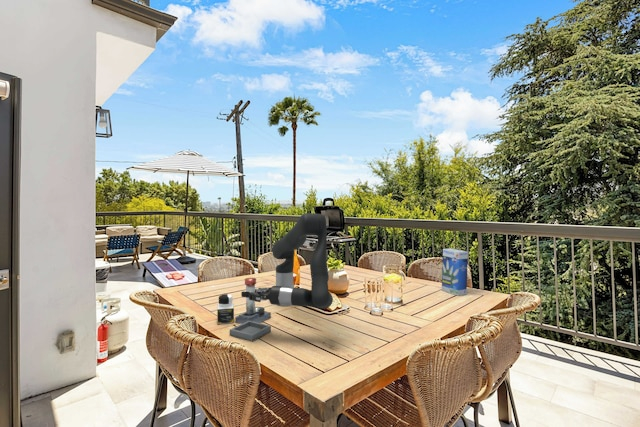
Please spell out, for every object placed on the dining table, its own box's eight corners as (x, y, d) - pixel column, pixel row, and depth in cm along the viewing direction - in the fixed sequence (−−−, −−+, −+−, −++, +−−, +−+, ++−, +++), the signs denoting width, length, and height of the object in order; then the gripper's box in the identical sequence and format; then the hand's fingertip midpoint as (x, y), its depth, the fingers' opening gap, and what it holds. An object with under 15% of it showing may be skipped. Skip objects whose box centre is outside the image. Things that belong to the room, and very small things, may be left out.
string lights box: (441, 290, 214) (442, 248, 213) (450, 289, 217) (451, 248, 216) (457, 296, 202) (459, 252, 201) (467, 294, 205) (468, 251, 204)
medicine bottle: (217, 324, 155) (217, 297, 154) (217, 319, 162) (217, 293, 161) (233, 323, 157) (233, 296, 156) (233, 317, 164) (233, 292, 163)
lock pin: (250, 310, 148) (249, 277, 147) (258, 311, 145) (258, 278, 145) (242, 313, 144) (242, 279, 143) (251, 314, 141) (251, 280, 141)
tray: (249, 326, 153) (249, 320, 153) (270, 331, 147) (270, 325, 147) (229, 335, 143) (229, 329, 143) (252, 341, 137) (252, 335, 137)
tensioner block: (254, 313, 169) (254, 304, 169) (270, 317, 164) (270, 307, 164) (235, 322, 158) (235, 311, 158) (252, 326, 153) (252, 315, 153)
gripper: (288, 282, 147) (251, 280, 152) (276, 290, 134) (235, 288, 138) (289, 299, 148) (251, 297, 152) (276, 310, 134) (235, 306, 138)
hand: (244, 292), depth 145 cm, fingers closed on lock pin, 3 cm apart
